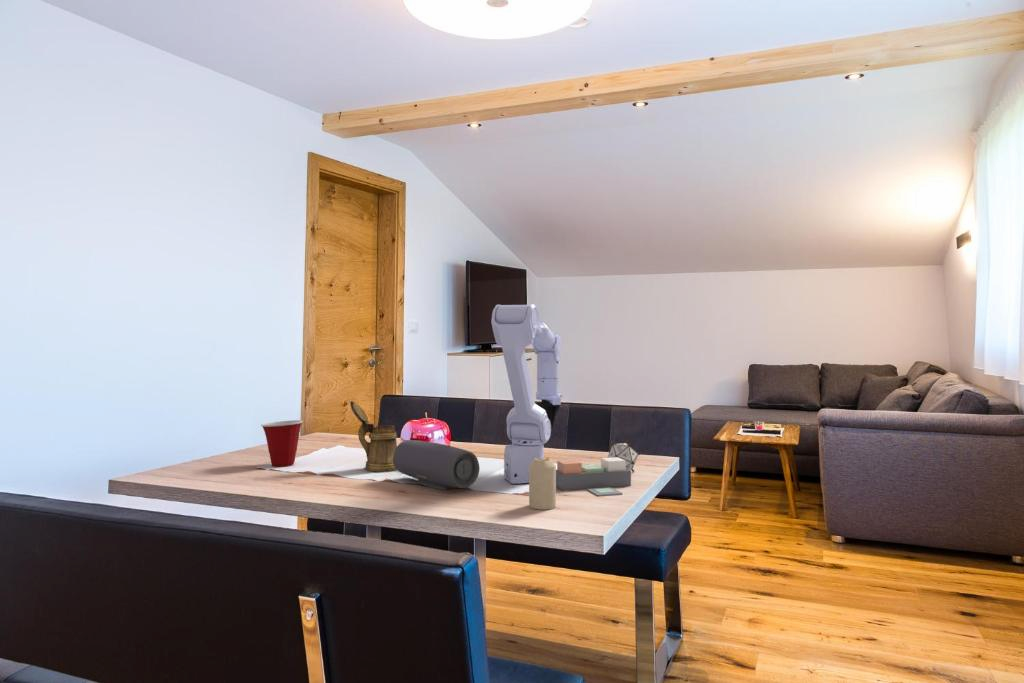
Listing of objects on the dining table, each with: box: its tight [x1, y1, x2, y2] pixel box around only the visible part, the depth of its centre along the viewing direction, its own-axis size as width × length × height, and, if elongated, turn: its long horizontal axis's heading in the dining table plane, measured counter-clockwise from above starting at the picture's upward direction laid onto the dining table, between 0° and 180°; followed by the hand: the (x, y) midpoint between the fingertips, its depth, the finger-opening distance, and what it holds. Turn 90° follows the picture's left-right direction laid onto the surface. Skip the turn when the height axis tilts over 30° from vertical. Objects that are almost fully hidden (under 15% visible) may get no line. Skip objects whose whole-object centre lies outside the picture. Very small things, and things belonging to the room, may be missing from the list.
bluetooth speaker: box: [393, 439, 480, 490], centre depth 159 cm, size 23×9×10 cm, turn 44°
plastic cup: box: [260, 419, 304, 468], centre depth 183 cm, size 11×11×12 cm
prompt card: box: [586, 487, 623, 497], centre depth 151 cm, size 6×6×1 cm
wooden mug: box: [349, 400, 398, 473], centre depth 178 cm, size 9×14×18 cm, turn 84°
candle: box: [528, 457, 557, 511], centre depth 139 cm, size 6×6×10 cm
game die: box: [607, 439, 642, 473], centre depth 173 cm, size 9×8×10 cm
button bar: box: [556, 469, 632, 491], centre depth 158 cm, size 17×6×4 cm, turn 106°
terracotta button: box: [556, 459, 583, 474], centre depth 157 cm, size 4×4×3 cm
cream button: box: [600, 457, 626, 472], centre depth 160 cm, size 4×4×3 cm
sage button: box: [582, 464, 604, 473], centre depth 158 cm, size 4×4×3 cm
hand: (547, 429), depth 178 cm, fingers closed
